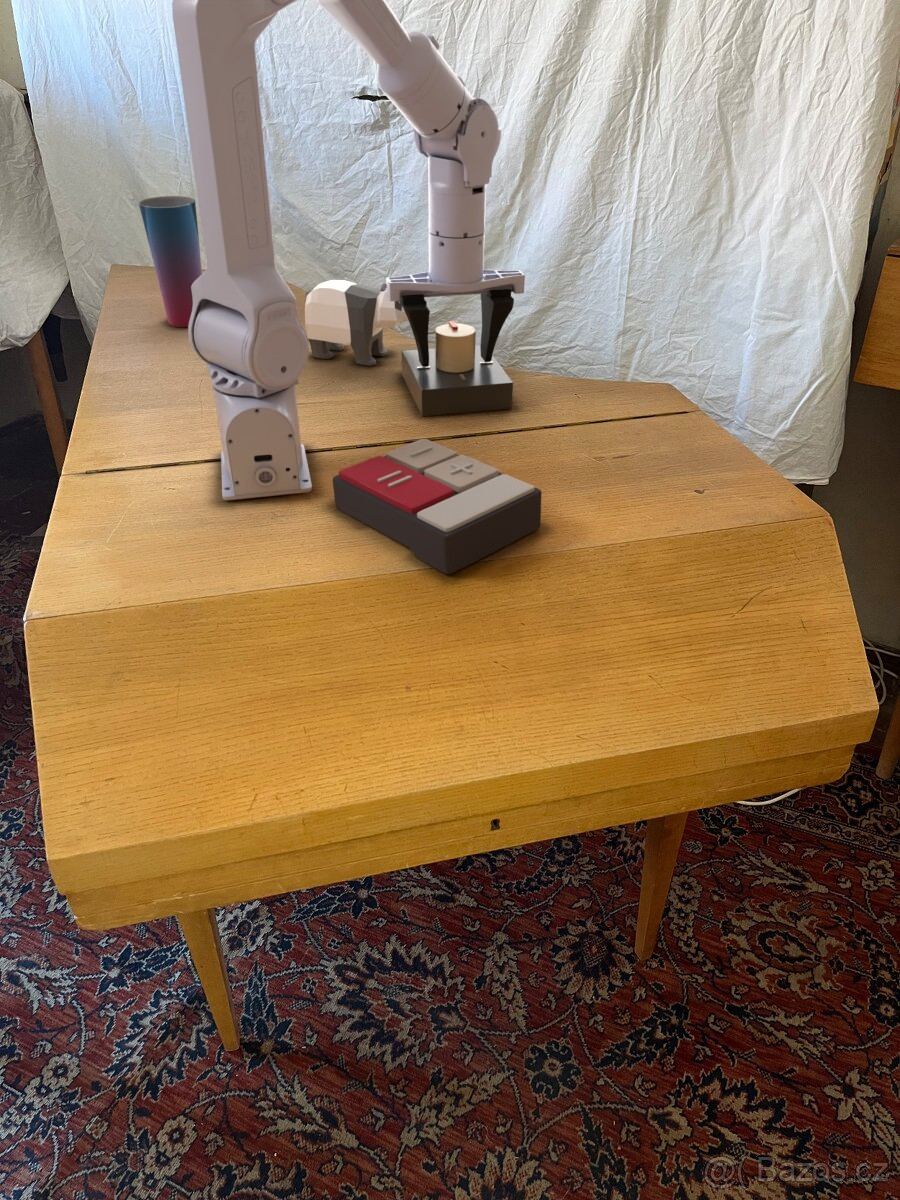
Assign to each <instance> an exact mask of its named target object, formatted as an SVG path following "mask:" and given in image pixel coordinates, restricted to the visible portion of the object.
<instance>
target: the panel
mask: <svg viewBox="0 0 900 1200" xmlns="http://www.w3.org/2000/svg"><path fill="white" fill-rule="evenodd" d="M480 346H481V344H477V345H476V344H475V366H474V368H473V369H471V370H469V371H466V372H459V373H452V372H445V371H442V370H439V369H438V368H437V367H436V365H435V348H434V347H433V348H429V367H422V365H421V364H420V362H419V355H418V349H405V350H401V376H402V378H403V380H404V383H405V384H406V386H407V389H408V390H409V392H410V394H411V397H412V398H413V400H414V403H415V404H416V407H417V409H418V411H419V413H420V415H421V417H432V416H445V415H454V414H466V413H477V412H478V413H479V412H480V413H481V412H489V411H501V410H503V411H504V410H511V409H512V408H513V391H514V390H513V389H514V382H513V381H512V379H511V378H510V377H509V375H508V374H507V373H506V371H505V370H504V369H503V367H502V366H501V365H500V363H499V362H498V361H497V359H496V357H494V354H493V355H492V360H491V362H485V361H484V360H483V358H482V357H481V348H480Z"/></svg>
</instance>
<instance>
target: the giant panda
mask: <svg viewBox="0 0 900 1200" xmlns="http://www.w3.org/2000/svg"><path fill="white" fill-rule="evenodd" d="M304 303H305V304H304V325H305V332H306V334H307V337H308V342H309V347H310V350H311V355H312V357H314V358H317V359H325V360H329V359H332V358H333V357H334V354H333V352H332V351H342V350H344V349H345V346H344V345H349V346H350V347H351V349H352V352H353V354H354V355H353V356H354V361H355V364H357V365H362V366H369V367H372V366H375V365H376V363H377V360H376V358H374V357H373V356H377V357H385V356H388V349H386V348H385V347H384V341H383V339H384V328H395V327H398V326H399V325H401V324H402V323H405V322H409V320H408V318H407V315H406V313H405V311H404V309H403V306H402V304H401V302H400V301H390V300H389V299H388V297H387V282H384V283H382V284H381V287H380V289H379V288H374V287H369V286H366V285H362V284H359V283H355V282H352V281H349V280H343V279H330V280H328V281H324V282H321V283H319V284H317V285H316V287H312V288H308V289H307V291H306V292H305V300H304ZM330 350H332V351H330Z"/></svg>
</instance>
